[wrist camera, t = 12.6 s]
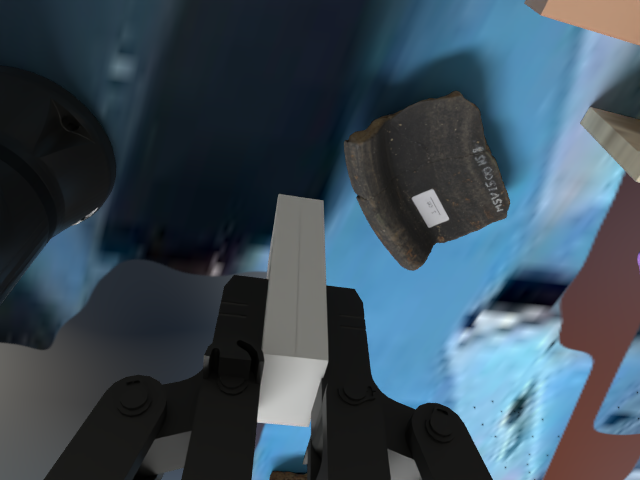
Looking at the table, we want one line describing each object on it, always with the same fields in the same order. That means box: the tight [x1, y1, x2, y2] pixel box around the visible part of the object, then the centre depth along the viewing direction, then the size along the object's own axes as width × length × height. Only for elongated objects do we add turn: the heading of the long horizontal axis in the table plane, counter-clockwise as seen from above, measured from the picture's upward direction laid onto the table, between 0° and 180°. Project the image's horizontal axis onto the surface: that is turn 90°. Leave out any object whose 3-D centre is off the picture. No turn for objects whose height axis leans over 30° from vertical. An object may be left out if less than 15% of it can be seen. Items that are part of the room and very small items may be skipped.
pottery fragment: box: [344, 91, 510, 271], centre depth 41 cm, size 15×12×4 cm
